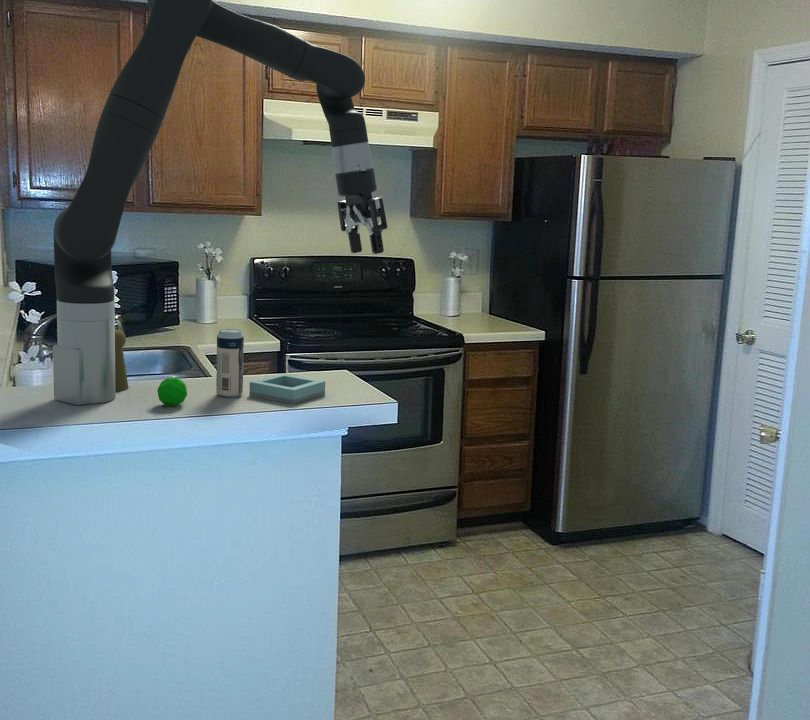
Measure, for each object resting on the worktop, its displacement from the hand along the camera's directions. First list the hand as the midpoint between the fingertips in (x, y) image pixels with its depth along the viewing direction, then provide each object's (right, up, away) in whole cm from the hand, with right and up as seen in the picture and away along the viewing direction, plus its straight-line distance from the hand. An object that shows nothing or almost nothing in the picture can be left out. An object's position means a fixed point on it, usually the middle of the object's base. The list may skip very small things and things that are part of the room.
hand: (367, 252), depth 163 cm
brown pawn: (-47, -26, -10) cm, 55 cm away
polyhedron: (-33, -29, -19) cm, 48 cm away
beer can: (-25, -28, -10) cm, 39 cm away
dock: (-15, -28, -8) cm, 32 cm away
